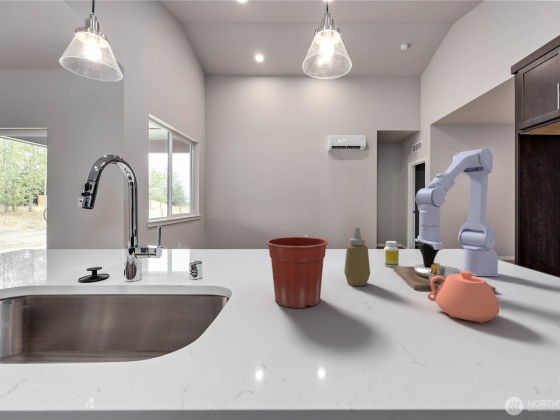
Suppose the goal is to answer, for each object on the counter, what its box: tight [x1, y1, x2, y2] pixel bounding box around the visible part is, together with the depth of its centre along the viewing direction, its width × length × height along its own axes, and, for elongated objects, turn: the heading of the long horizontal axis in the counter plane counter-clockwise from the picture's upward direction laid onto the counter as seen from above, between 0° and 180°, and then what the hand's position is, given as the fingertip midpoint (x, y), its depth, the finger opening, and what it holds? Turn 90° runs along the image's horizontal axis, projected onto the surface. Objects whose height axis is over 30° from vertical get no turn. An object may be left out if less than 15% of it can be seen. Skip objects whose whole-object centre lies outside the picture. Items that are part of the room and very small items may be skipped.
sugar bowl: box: [427, 271, 500, 324], centre depth 63 cm, size 12×14×10 cm
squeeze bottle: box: [343, 227, 371, 287], centre depth 86 cm, size 8×8×18 cm
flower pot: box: [266, 236, 329, 309], centre depth 72 cm, size 16×16×16 cm
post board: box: [392, 265, 497, 294], centre depth 89 cm, size 22×22×6 cm
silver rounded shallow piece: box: [413, 262, 461, 281], centre depth 88 cm, size 17×14×4 cm
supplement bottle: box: [383, 240, 400, 268], centre depth 108 cm, size 5×5×10 cm
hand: (428, 267), depth 87 cm, fingers closed, pressing on silver rounded shallow piece
